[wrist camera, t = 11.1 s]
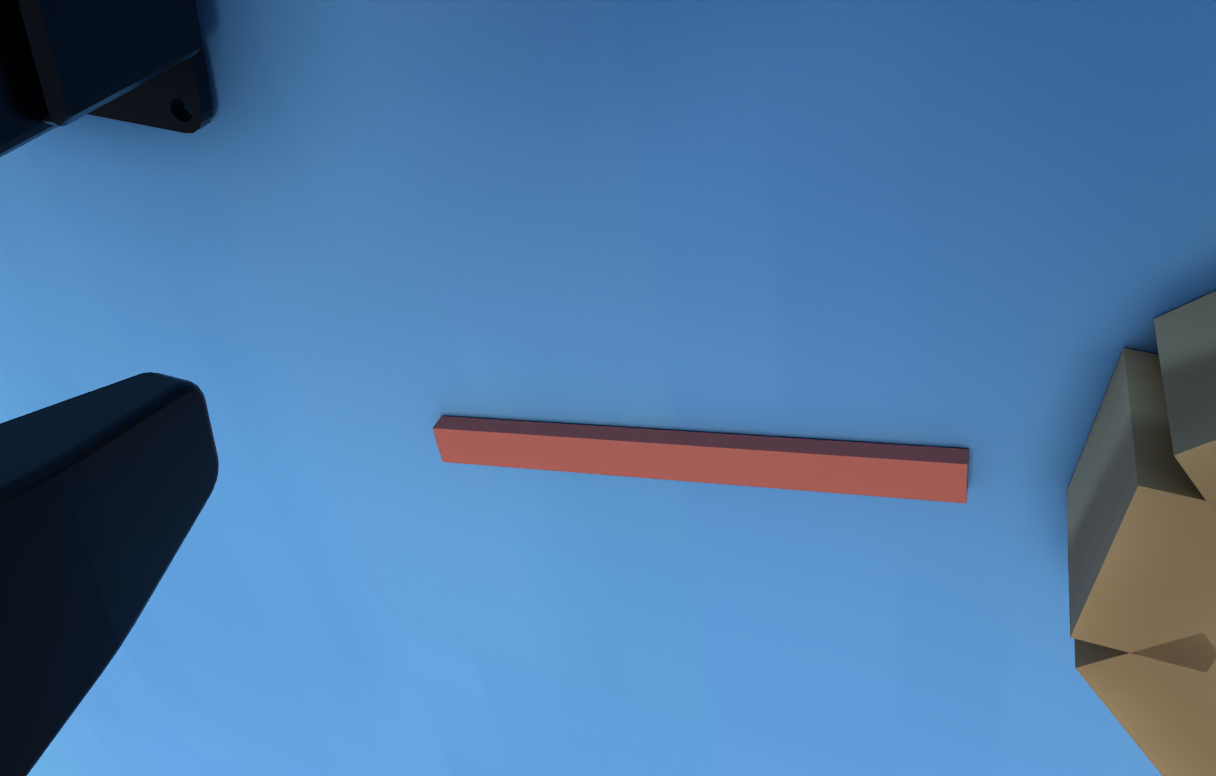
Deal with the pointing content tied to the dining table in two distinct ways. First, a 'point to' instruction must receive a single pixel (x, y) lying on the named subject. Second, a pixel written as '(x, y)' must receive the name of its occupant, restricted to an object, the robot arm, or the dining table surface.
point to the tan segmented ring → (1152, 545)
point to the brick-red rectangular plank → (710, 457)
